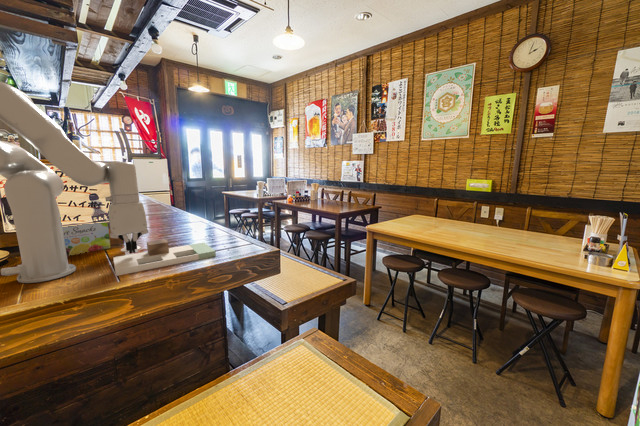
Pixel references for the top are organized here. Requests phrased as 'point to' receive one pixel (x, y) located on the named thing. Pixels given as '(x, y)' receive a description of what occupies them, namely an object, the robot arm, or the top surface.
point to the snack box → (86, 238)
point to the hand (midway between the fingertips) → (132, 252)
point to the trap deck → (161, 258)
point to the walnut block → (157, 247)
